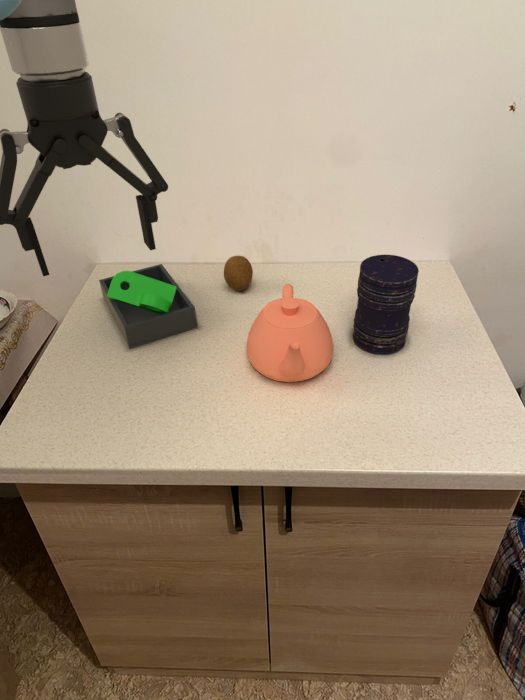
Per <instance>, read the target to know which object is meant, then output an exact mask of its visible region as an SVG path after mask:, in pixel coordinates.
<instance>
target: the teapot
mask: <svg viewBox="0 0 525 700" xmlns="http://www.w3.org/2000/svg"><path fill="white" fill-rule="evenodd" d="M281 296H282V297H281V298H277V299H273V300H271V301H269V302H268V303H267V304H265V306H263V307H262V308H261V310H260V312H259V313H258V314H257V316H256V318H255V319H254V320H253V322H252V324H251V326H250V329H249V331H248V335H247V339H246V357H247V359H248V360H249V361H248V362H250V365H251V366H252V367H253V368H254V369H255V370H256V371H257V372H258V373H260V374H261V375H262V376H264V377H266V378H268V379H271V380H274V381H278V382H283V383H284V382H286V383H294V382H295V383H296V382H302V381H307V380H309V379H312V378H314V377H316V376H317V375H319V374H321V372H323V371H325V369H327V367H328V366H329V364H330V363H331V360H332V358H333V355H334V341H333V337H332V336H333V335H332V332H331V329H330V328H329V325H328V323H327V321H326V320H325V318H324V316H323V315H322V314H321V312H320V310H319V309H318V308H317V307H316V305H314V304H313V303H312V302H310V301H309V300H307V299H304V298H300V297H294V287H293V285H292V284H290V283H285V284H284V285H283V287H282V295H281Z"/></svg>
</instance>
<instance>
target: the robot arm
mask: <svg viewBox="0 0 525 700" xmlns="http://www.w3.org/2000/svg"><path fill="white" fill-rule="evenodd" d="M0 34H1V37H2V40H3V43H4V46H5V50H6V54H7V57H8V60H9V61H8V62H9V64H10V67H11V70H12V72H14V73H15V74H16V75H19V76H20V77H18V78H17V81H16V83H15V85H16V87H17V91H18V94H19V97H20V101H21V105H22V109H23V112H24V115H25V119H26V122H27V123H26V124H27V128H26V131H23V130H22V131H10V130H9V129H8V128H2V129H1V130H0V144H1V145H0V146H1V150H2V155H1V158H0V226H3V225H10V226H13V227H14V229H15V230H16V233H17V236H18V239H19V243H20V246H21V247H22V249H23V250H24V251H25V252H29V251H34V252H35V257H36V259H37V262H38V265H39V269H40V271H41V274H42V276H43V277H47V276H50V272H49V269H48V266H47V263H46V260H45V256H44V253H43V249H42V248H41V244H40V241H39V238H38V235H37V233H36V228H35V225H34V223H33V220H32V218H31V216H30V215H31V212H32V211H33V209H34V208H35V205H36V204H37V201H38V199H39V197H40V195H41V193H42V191H43V189H44V187H45V185H46V183H47V181H48V179H49V178H50V177H51V176H52V174H53V173H54V171H55V169H56V167H57V168H60V169H61V168H62V169H63V170H67V169H72V168H73V167H76V166H90V165H92V163H93V162H95V161H96V160H97V159H98V160H99V161H100V162H101V163H102V164H104V165H105V166H106V167H108V168H109V169H110V170H112V171H113V172H114V173H115V174H117V176H119V177H120V178H121V179H123V180H124V181H125V182H126V183H128V185H130V186H131V187H133V189H135V190H136V191H137V192H138V193H140V194H138V195H135V200H136V205H137V211H138V216H139V221H140V226H141V227H140V228H141V232H142V238H143V242H144V244H145V246H146V247H147V249H148V250H149V251H154V250H156V249H157V247H156V242H155V236H154V230H153V225H152V224H154V223H157V222H159V221H158V220H159V214H158V208H157V199H158V195H160V194H161V193H164V192H167V191H168V190H169V184H168V183H167V181H166V180H165V178H164V177H163V175H162V174H161V173H160V171H159V170H158V168H157V167H156V166H155V164H154V162H153V160H152V159H151V158H150V157H149V155H148V154H147V152H146V151H145V149H144V148H143V147H142V145H141V143H140V142H139V141H138V139H137V138H136V137H135V133H134V129H133V126H132V122H131V120H130V118H128V117H127V116H126V115H125V114H123V113H122V112H117V113H115V115H114V116H113V117H110V118H106V119H103V118H102V116H101V114H100V110H99V105H98V100H97V96H96V91H95V87H94V82H93V77H92V75H91V74H90V73H89V72H88V71H86V69H87V68H88V66H89V65H90V62H89V58H88V53H87V48H86V44H85V38H84V34H83V30H82V26H81V20H80V17H79V13H78V8H77V5H76V0H0ZM108 132H112V134H113V135H114V136H115V137H116V138H118V139H121V141H122V142H123V143H124V144H125V146H126V147H127V149H128V150H129V151H130V153H131V154H132V156H133V157H134V159H135V160H136V161H137V163H138V164H139V166H140V167H141V168H142V170H143V171H144V173H145V174H146V175H147V177H148V178H149V180H150V182H148V183H146V182H145V181H143V179H141V178H140V177H139V176H138V175H136V174H135V173H134V172H133V171H131V170H130V169H129V168H128V167H127V166H125V164H123V163H122V162H121V161H120V160H118V159H117V158H116V157H115V156H114V155H112V154H111V153H110V151H108V150H107V149H106V148H104V147H103V144H104V141H105V139H106V137H107V135H108ZM27 144H30V146H32V147H33V148H34V149H35V150H36V151H37V152H38V153H39V154H38V156H37V158H36V159H35V164H34V166H33V168H32V171H31V172H30V174H29V176H28V179H26V183H25V185H24V186H23V188H22V190H21V192H20V194H19V197H18V198H17V200H16V202H15V205H14V207H13V208H12V209H10V204H11V200H12V199H11V198H12V193H13V188H14V183H15V176H16V172H17V171H16V170H17V166H18V155H21V154H22V153H23V152H24V149H25V148H24V147H25V146H26V145H27Z"/></svg>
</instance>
